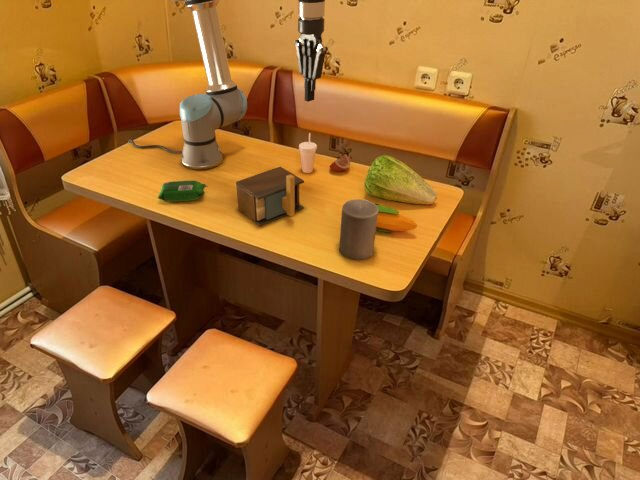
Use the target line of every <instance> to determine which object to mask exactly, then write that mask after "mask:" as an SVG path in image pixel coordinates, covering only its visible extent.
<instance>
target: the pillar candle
mask: <svg viewBox="0 0 640 480" xmlns="http://www.w3.org/2000/svg"><path fill="white" fill-rule="evenodd" d="M375 204H376V203H375V202H372V201H370V200H368V199H357V198H356V199H350V200H347V201H345V202H344V203H343V204H342V206H341V217H340V233H339V234H340V235H339V236H340V237H339V247H338V251H339V253H340V254H341V256H343V257H345V258H347V259H350V260H355V261H358V260H365V259H369V258H370V257H372V255H373V253H374V249H375V241H376V233H377V230H376V229H377V228H376V225H377V217H378V207H377V206H376V205H375Z"/></svg>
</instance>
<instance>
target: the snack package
mask: <svg viewBox="0 0 640 480" xmlns="http://www.w3.org/2000/svg"><path fill="white" fill-rule="evenodd" d="M206 187H207V188H208V185H206V183H203V182H200V181H198V180H177V181H176V180H173V181H166V182H164V183H163V184H162V185H161V188H160V192H159V194H158V195H157V199H159V200H162V201H164V202H166V203H177V202H188V201H190V202H191V201H197V200H199V199H200V198H201V197H202V196H204V195H205V188H206Z"/></svg>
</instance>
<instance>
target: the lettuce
mask: <svg viewBox="0 0 640 480" xmlns="http://www.w3.org/2000/svg"><path fill="white" fill-rule="evenodd" d="M363 185H364V186H363V187H364V192H365V193H366V194H367V195H368V196H371V197H375V198H380V199H384V200H387V201H395V202H402V203H406V204H413V205H433V204H434V203H435V201H436V200H437V197H438V192H437V191H436V190H435V189H434V187H433V186H431V185H430V184H429V183H428V182H427V181H426V180H425V179H424V178H423V177H422V176H421V175H420V174H418V173H417V172H416V171H414V169H412V168H411V167H409V166H408V165H407V164H406V163H404V162H403V161H401V160H400V159H397V158H396V157H393V156H391V155H387V154H383V155H380V156H377V157H376V158H375V159H374V160H373V162H372V163H371V165H370V166H369V169H368V171H367V172H366V175H365V179H364V183H363Z"/></svg>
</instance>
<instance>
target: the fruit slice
mask: <svg viewBox="0 0 640 480" xmlns="http://www.w3.org/2000/svg"><path fill="white" fill-rule="evenodd" d="M350 165H351V161H350V158H349V156H348V155H347V154H346V153H344V154H343V155H341V156H340V157H339V158H336V159H335V160H334V161H333V162H332V163H331V164H330V165H329V168H330V169H331V170H332V171H334V172H343V171H346V170H347V169H349V168H350Z"/></svg>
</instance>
